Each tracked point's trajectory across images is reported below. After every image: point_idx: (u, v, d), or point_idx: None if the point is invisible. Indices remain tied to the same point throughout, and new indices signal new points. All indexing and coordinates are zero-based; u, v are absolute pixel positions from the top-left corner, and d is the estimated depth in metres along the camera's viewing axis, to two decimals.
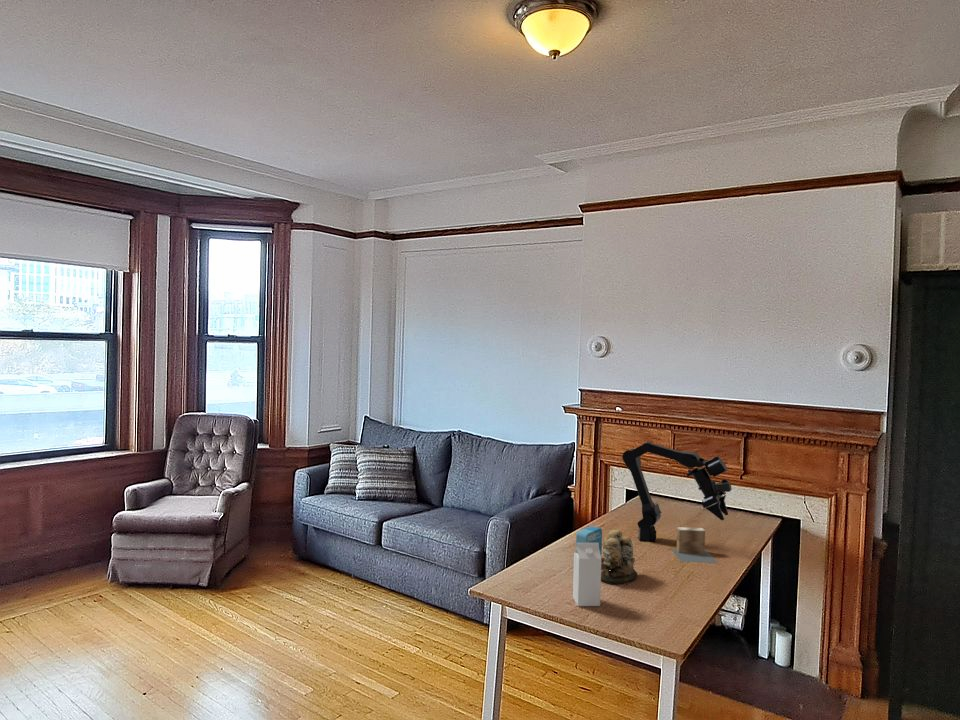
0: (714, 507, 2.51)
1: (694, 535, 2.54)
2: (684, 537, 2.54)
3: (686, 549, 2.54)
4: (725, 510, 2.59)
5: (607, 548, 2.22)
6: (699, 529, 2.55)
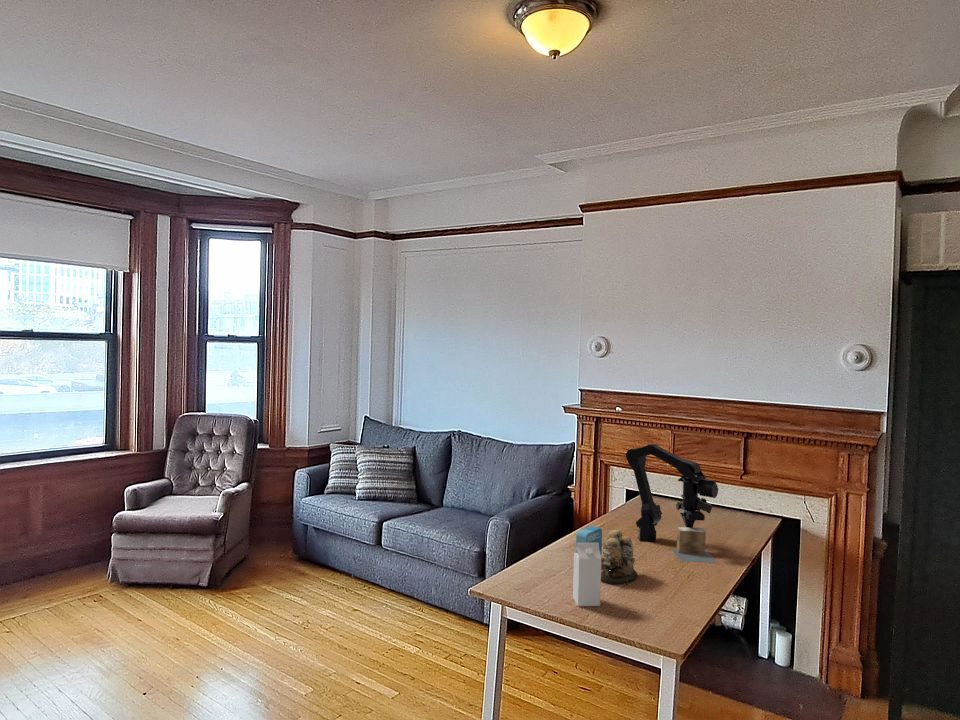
0: None
1: (694, 536, 2.53)
2: (684, 537, 2.53)
3: (686, 549, 2.54)
4: None
5: (607, 548, 2.22)
6: (700, 529, 2.54)
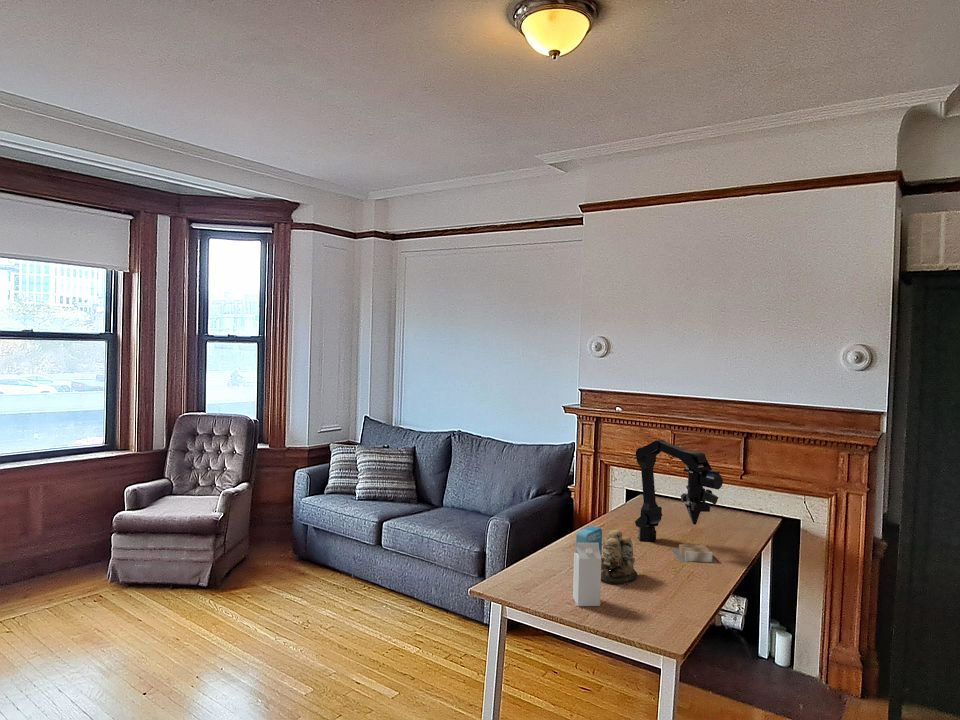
0: (695, 510, 2.50)
1: None
2: None
3: None
4: None
5: (607, 548, 2.22)
6: (707, 558, 2.44)
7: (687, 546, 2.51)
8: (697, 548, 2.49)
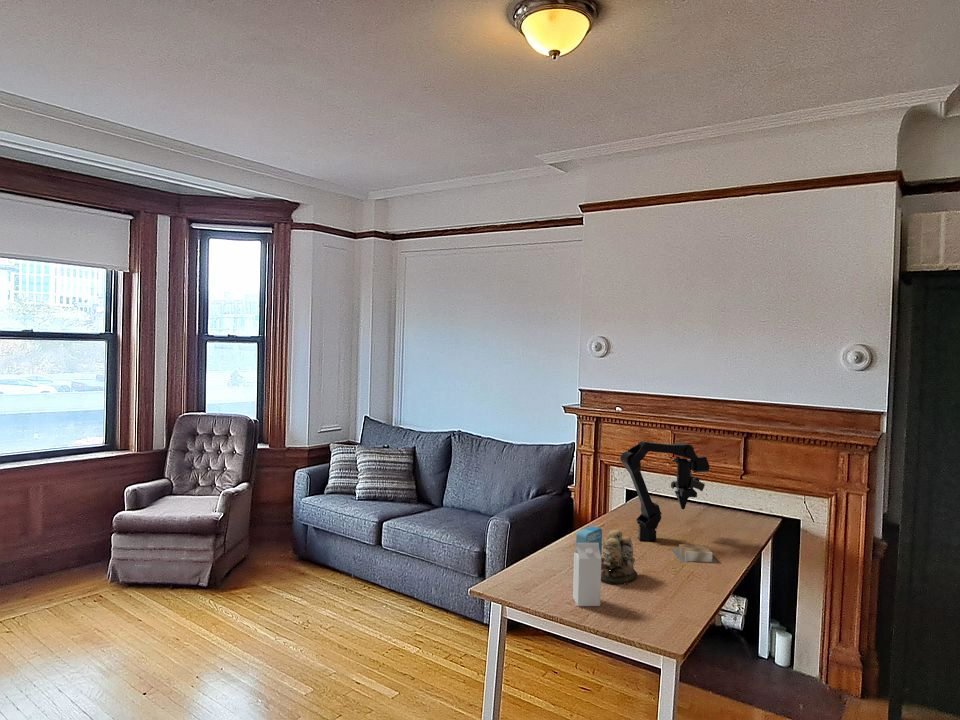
0: (683, 496, 2.73)
1: None
2: None
3: None
4: None
5: (607, 548, 2.22)
6: (707, 558, 2.44)
7: (687, 546, 2.51)
8: (697, 548, 2.49)
